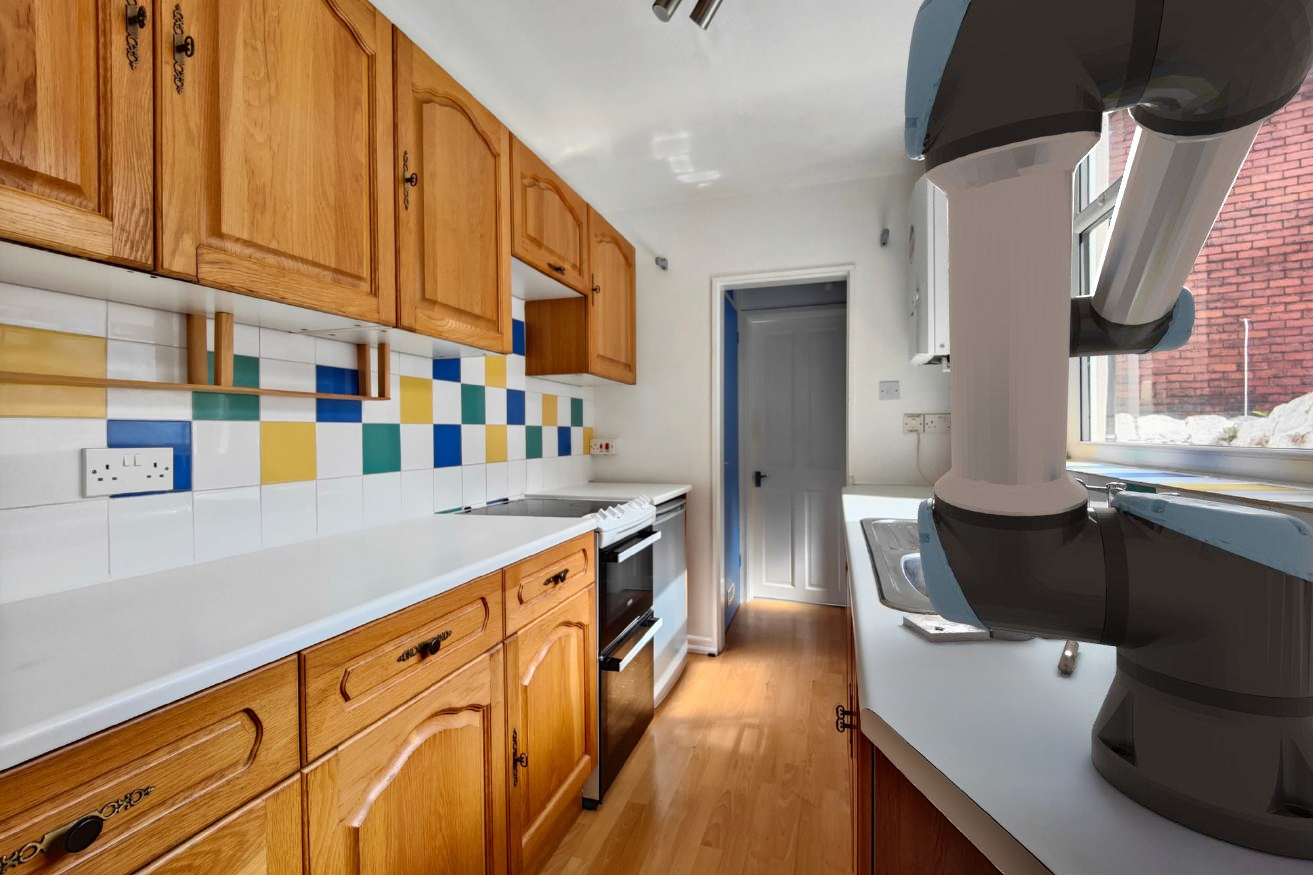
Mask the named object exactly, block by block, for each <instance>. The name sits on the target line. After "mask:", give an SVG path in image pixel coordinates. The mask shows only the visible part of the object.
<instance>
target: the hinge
mask: <svg viewBox="0 0 1313 875" xmlns="http://www.w3.org/2000/svg"><path fill="white" fill-rule="evenodd" d="M902 624H903V625H904V626H905V627H907V628H909V629H911V631H914V632H915V633H916V634H918V635H920V636H921V637H923V638H924V639H926V640H928V641H929V642H930V643H938V642H939V643H941V642H968V641H969V642H971V641H990V638H991V639H997V640H1005V641H1013V642H1014V641H1017V642H1018V641H1019V642H1020V641H1030V640H1031V639H1034V638H1035V637H1036V635H1029V634H1022V633H1015V632H1008V631H1001V630H994V629H993V631H986V630H983V629H982V628H980V627H976V626H971V625H965V624H960V623H954V622H950V621H947V620H945V619H944V618H942V617H941V616H940V615H938V614H932V615H931V614H929V615H925V614H924V615H903V616H902ZM1041 637H1042V638H1045V639H1051V638H1050V637H1043V636H1041Z"/></svg>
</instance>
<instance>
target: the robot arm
mask: <svg viewBox="0 0 1313 875" xmlns="http://www.w3.org/2000/svg"><path fill="white" fill-rule="evenodd" d="M911 32H912V33H911V39H910V45H909V51H908V60H907V67H906V68H907V70H906V82H905V92H904V93H905V94H904V117H905V118H904V132H903V134H904V135H903V137H904V138H903V140H904V150H905V154H906V156H907V158H909V159H910V160H915V161H922V160H925V161H924V162H925V180H926V181H927V182H928V183H930V184H931V185H932V186H934V187H935V188H937V189H938V190H939V191H940V192H941V193H942V194H944V196H945V198H946V216H947V219H946V222H947V227H946V228H947V274H948V279H947V281H948V326H949V327H948V328H949V329H948V330H949V338H948V339H949V381H950V382H949V383H950V384H949V386H950V388H949V389H950V390H949V391H950V392H949V393H950V394H949V395H950V440H951V442H950V443H951V449H950V450H951V468H950V469H949V470H948V471H947V472H945V474H943V475H942V476H941V477H939V479H938V480H936V482H935V483H934V485H933V486H934V487H933V494H934V495H933V497H929V498H928V499H923V500H922V501H920V503H919V505H918V509H917V532H918V540H919V545H918V547H919V549H918V550H919V556H920V565H921V569H922V575H923V580H924V585H925V589H926V593H927V596H928V599H929V603H930V605H931V606H932V608H933V609H934V611H935V613H936V615H940V616H941V617H942V618H944V619H945V620H947V621H950V622H954V623H960V624H965V625H971V626H976V627H980V628H982V629H983V630H986V631H993V629H994V630H1001V631H1008V632H1015V633H1022V634H1029V635H1035V637H1036V636H1037V637H1042V636H1043V637H1042V638H1044V637H1050V638H1049V639H1057V640H1058V639H1059V640H1064V641H1067V640H1071V641H1077V642H1078V643H1079V642H1080V643H1087V644H1092V645H1093V644H1094V645H1100V646H1101V645H1102V646H1108V647H1109V646H1110V647H1115V654H1116V656H1115V661H1116V662H1115V665H1116V666H1115V668H1116V669H1115V675H1114V677H1113V680H1112V682H1111V684H1110V686H1109V687H1108V688H1109V689H1108V691H1107V693H1106V695H1105V696H1104V700H1103V702H1102V704H1101V707H1100V709H1099V712H1098V714H1097V716H1096V718H1095V720H1094V722H1093V724H1092V728H1091V733H1090V738H1091V741H1090V743H1091V744H1090V745H1091V746H1090V751H1091V752H1090V753H1091V760H1092V763H1093V765H1094V766H1095V768H1096V769H1097V770H1098V772H1099V773H1100V774H1101V775H1102V776H1103V778H1105V779H1106V780H1107V781H1108V782H1109V783H1110V784H1111V785H1113V786H1114V787H1115V788H1116V789H1118V790H1119V791H1121V792H1122V793H1123V794H1125V795H1127V796H1128V797H1129V798H1131V799H1132V800H1134V801H1136V802H1137V803H1139V804H1141V805H1143V806H1145V807H1147V809H1150V810H1152V811H1154V812H1156V813H1157V814H1159V815H1162V816H1164V817H1166V818H1168V819H1170V820H1172V821H1175V822H1177V823H1179V824H1181V825H1183V826H1186V827H1188V828H1191V829H1192V830H1193V829H1194V830H1196V831H1198V832H1202V833H1203V834H1207V835H1209V836H1212V837H1215V838H1218V839H1220V840H1224V841H1226V842H1230V843H1233V844H1236V845H1240V846H1243V847H1246V848H1251V849H1253V850H1257V851H1258V850H1259V851H1263V852H1267V853H1272V854H1276V855H1282V856H1288V857H1292V858H1293V857H1294V858H1300V859H1301V858H1302V859H1311V860H1312V859H1313V527H1312V526H1310V525H1309V524H1308V523H1307V522H1305V521H1304V520H1302V519H1300V518H1298V517H1296V516H1293V515H1289V514H1287V513H1282V512H1276V511H1273V510H1266V509H1260V508H1255V507H1250V506H1244V505H1238V504H1232V503H1225V502H1217V501H1212V500H1205V499H1199V498H1191V497H1183V496H1176V495H1175V496H1174V495H1167V494H1159V493H1151V492H1139V491H1138V492H1137V491H1130V490H1129V491H1128V490H1124V491H1123V490H1122V491H1118V492H1116V493H1115V494H1114V498H1113V499H1112V500H1111V505H1112V506H1113V507H1099V506H1098V507H1097V506H1095V507H1094V506H1088V505H1089V496H1088V489H1087V488H1086V486H1084V485H1083V484H1082V483H1081V482H1079V481H1078V480H1077V479H1076V478H1074V476H1072V475H1071V474H1069V472H1068V471H1067V449H1068V448H1067V446H1068V444H1067V442H1068V416H1069V415H1068V414H1069V413H1068V410H1069V409H1068V408H1069V406H1068V405H1069V377H1070V376H1069V374H1070V358H1084V357H1102V356H1104V357H1105V356H1120V355H1123V356H1124V355H1147V354H1150V353H1158V352H1167V351H1174V350H1178V349H1180V348H1182V347H1184V346H1185V345H1186V344H1187V343H1188V342H1189V340H1190V338H1191V336H1192V335H1193V334H1192V332H1193V326H1194V325H1195V320H1196V305H1195V304H1196V303H1195V298H1194V296H1193V293H1192V291H1191V289H1189V288H1188V287H1186V286H1185V284H1186V282H1187V280H1188V278H1189V276H1190V274H1191V272H1192V269H1193V267H1194V265H1195V263H1196V262H1197V259H1198V257H1199V255H1200V254H1201V251H1202V249H1203V247H1204V245H1205V243H1206V241H1207V239H1208V237H1209V234H1211V231H1212V228H1213V226H1214V225H1215V222H1216V220H1217V218H1218V217H1219V214H1220V212H1221V211H1222V208H1223V206H1224V204H1225V202H1226V200H1227V198H1228V196H1229V194H1230V191H1231V190H1232V187H1233V186H1234V184H1235V181H1236V179H1237V177H1238V175H1239V174H1240V171H1241V169H1242V167H1243V165H1244V163H1245V161H1246V158H1247V157H1248V155H1249V153H1250V151H1251V149H1252V146H1253V145H1254V143H1255V141H1256V138H1257V136H1258V135H1259V132H1260V130H1261V128H1262V126H1263V125H1264V122H1265V121H1266V120H1268V119H1270V118H1271V117H1273V116H1275V115H1276V114H1278V113H1279V112H1280V111H1281V110H1283V109H1284V108H1285V107H1287V106H1288V105H1289V104H1290V103H1291V102H1292V100H1293V99H1294V98H1295V97H1296V96H1297V94H1298V92H1299V91H1300V89H1301V87H1302V86H1303V84H1304V82H1305V80H1306V77H1307V75H1308V74H1309V72H1310V70H1311V69H1312V66H1313V0H923V1H922V3H921V5H920V7H919V9H918V10H917V13H916V17H915V20H914V23H913V28H912V31H911ZM1123 110H1128V114H1129V117H1130V119H1131V120H1132V122H1133V123H1134V124H1135V125H1136V128H1135V132H1134V136H1133V140H1132V144H1131V147H1130V151H1129V155H1128V157H1127V162H1126V165H1125V168H1124V169H1125V170H1124V173H1123V175H1122V176H1123V178H1122V181H1121V185H1120V188H1119V192H1118V196H1117V199H1116V203H1115V206H1114V210H1113V213H1112V218H1111V221H1110V225H1109V229H1108V232H1107V236H1106V239H1105V244H1104V247H1103V250H1102V253H1101V258H1100V262H1099V265H1098V268H1097V272H1096V277H1095V280H1094V283H1093V287H1092V290H1091V294H1087V295H1086V294H1085V295H1078V296H1076V295H1075V296H1072V276H1073V274H1072V272H1073V270H1072V268H1073V267H1072V266H1073V265H1072V264H1073V241H1074V240H1073V239H1074V238H1073V237H1074V236H1073V231H1074V203H1075V202H1074V200H1075V198H1074V196H1075V175H1076V171H1077V169H1078V167H1079V165H1080V164H1081V163H1082V162H1083V161H1084V160H1085V159H1086V157H1088V155H1089V154H1090V153H1092V151H1093V150H1094V149H1095V148H1096V147H1097V146H1098V145H1099V144H1100V142H1102V139H1103V138H1102V137H1103V121H1104V120H1103V118H1104V117H1103V116H1104V115H1107V114H1111V113H1115V112H1119V111H1120V112H1121V111H1123Z"/></svg>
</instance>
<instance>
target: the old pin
mask: <svg viewBox="0 0 1313 875" xmlns="http://www.w3.org/2000/svg"><path fill="white" fill-rule="evenodd" d="M1065 641H1066V642H1065V643H1064V644H1065V645H1064V647H1063V650H1062V653H1061V656H1060V658H1059V662H1058V665H1057V669H1058V671H1059V672H1060V673H1061V674H1064V675H1071V674H1072V673H1073V669H1074V666H1075V662H1076V659H1077V657H1078V656H1077V655H1078V652H1079V647H1080V644H1079V642H1078V641H1071V640H1065Z"/></svg>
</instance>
